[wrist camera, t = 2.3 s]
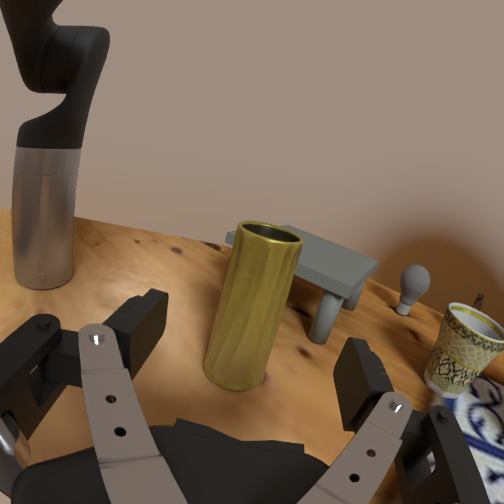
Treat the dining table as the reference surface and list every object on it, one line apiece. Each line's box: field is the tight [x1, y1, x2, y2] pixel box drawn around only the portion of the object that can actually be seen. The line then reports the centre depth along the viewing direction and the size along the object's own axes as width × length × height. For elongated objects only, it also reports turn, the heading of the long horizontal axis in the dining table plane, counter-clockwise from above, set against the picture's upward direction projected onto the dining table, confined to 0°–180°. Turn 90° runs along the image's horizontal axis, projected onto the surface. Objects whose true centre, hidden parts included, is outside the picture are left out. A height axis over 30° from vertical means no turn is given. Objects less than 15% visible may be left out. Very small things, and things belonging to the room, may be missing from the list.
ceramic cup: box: [423, 303, 504, 399], centre depth 27 cm, size 13×10×10 cm
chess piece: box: [472, 294, 484, 311], centre depth 40 cm, size 5×5×10 cm
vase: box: [203, 221, 304, 391], centre depth 24 cm, size 6×6×14 cm
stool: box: [225, 225, 379, 344], centre depth 43 cm, size 18×18×9 cm
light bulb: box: [396, 265, 430, 315], centre depth 47 cm, size 6×6×10 cm
